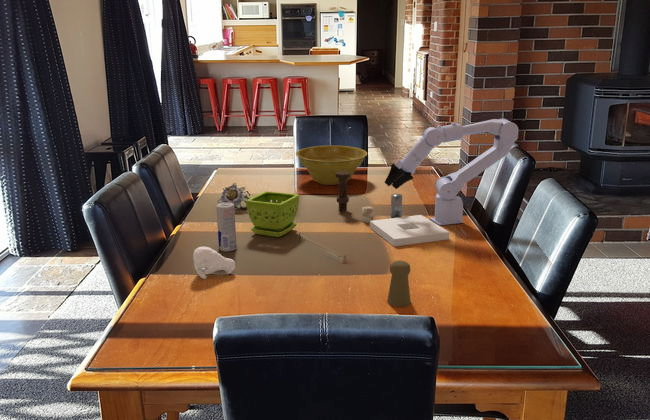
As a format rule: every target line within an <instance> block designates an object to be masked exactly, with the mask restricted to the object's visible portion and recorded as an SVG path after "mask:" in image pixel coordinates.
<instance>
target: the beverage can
mask: <svg viewBox="0 0 650 420" xmlns="http://www.w3.org/2000/svg"><path fill="white" fill-rule="evenodd" d="M235 209H236V208H235V206H234V204H233V203H228V202H226V203H224V202H222V203H218V204H216V225H217V239H218V240H217V241H218V250H220V251H222V252H226V253H227V252H233V251H234V250H236V249H237V232H236V230H237V229H236V214H235V211H236V210H235Z"/></svg>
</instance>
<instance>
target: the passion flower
mask: <svg viewBox="0 0 650 420" xmlns="http://www.w3.org/2000/svg"><path fill="white" fill-rule="evenodd" d="M222 190H223V191H222V192H221V194H222V195H221V196H220V198H218V200H217V201H216V202H217V203H218V204H219V203H226V202H228V203H233V204H234V207H236V209H240V208H241V207H242V204H241V203H242V202H244V203H245V204H246V201H247V200H248V199H250V198H251V197H250V196H251V193H250V192H249V190H246V186H243V187H240V188H239V187H238V185H237V183H236V182H233V183H232V185H230V186H228V187H227V186H225V188H222ZM245 190H246V191H245Z"/></svg>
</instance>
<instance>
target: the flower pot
mask: <svg viewBox="0 0 650 420" xmlns="http://www.w3.org/2000/svg"><path fill="white" fill-rule="evenodd" d="M249 198H250V199H248V200H247V201H246V203H245V205H246V211H247V214H248V218H249V219H250V221H251V223H252V225H253V227H251V228H250V230H251V232H252V233H254V234H255V235H259V236H262V235H263V236H268V237H273V238H274V237H275V238H280V237H283V236H284V235H286V234H288V233H289V232H291V231H292V230H294V228H296V227H297V222H294V221H295V219H296V217H297V214H298V209H299V203H300V201H299V200H300V195H299V194H297V193H289V192H287V193H286V192H279V191H278V192H277V191H263V192H261V193H258V194H256V195H255V196H252V197H249Z"/></svg>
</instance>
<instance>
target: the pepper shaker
mask: <svg viewBox="0 0 650 420" xmlns="http://www.w3.org/2000/svg"><path fill="white" fill-rule="evenodd" d="M389 272H390V274H391V278H390V283H389V289H388V290H389V291H388V296H387V300H386V301H387V302H388V303H389V304H390V306H391V305H392V307H394V306H396V307H395V308H406V307H408V306H410V305H411V302H412V301H411V292H410V283H409V274H410V273H411V266H410V264H409V262H407V261H404V260H395V261H393V262H391V264H390V265H389ZM388 303H387V304H388ZM389 304H388V305H389Z"/></svg>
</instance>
